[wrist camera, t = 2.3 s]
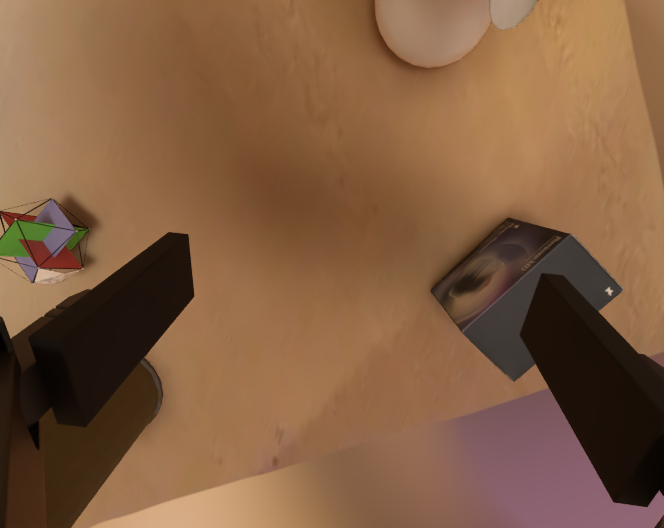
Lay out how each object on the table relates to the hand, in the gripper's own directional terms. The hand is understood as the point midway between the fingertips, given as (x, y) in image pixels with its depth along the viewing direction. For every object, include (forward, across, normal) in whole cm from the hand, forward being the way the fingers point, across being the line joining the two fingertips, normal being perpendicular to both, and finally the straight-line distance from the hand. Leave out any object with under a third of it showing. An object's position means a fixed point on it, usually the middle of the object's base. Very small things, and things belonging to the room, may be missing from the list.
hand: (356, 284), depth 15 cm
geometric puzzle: (+19, -28, -9) cm, 35 cm away
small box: (+23, +13, -10) cm, 28 cm away
